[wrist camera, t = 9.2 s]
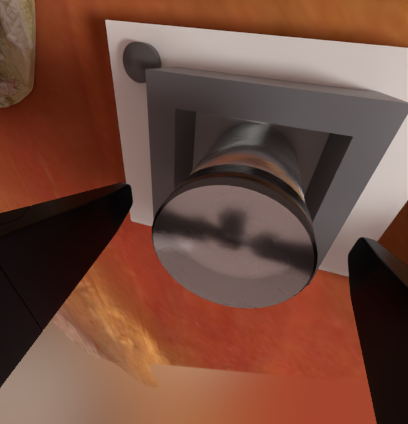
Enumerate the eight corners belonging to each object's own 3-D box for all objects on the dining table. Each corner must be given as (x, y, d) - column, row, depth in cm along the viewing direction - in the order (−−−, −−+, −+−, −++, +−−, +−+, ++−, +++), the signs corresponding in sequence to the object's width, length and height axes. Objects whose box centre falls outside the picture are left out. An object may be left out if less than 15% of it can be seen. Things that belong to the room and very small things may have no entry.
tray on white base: (445, 57, 11) (613, 57, 5) (338, 238, 18) (364, 319, 12) (145, 28, 14) (54, 8, 8) (153, 195, 21) (107, 246, 15)
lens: (315, 130, 11) (354, 209, 5) (283, 217, 14) (285, 325, 8) (210, 113, 12) (145, 165, 6) (201, 198, 15) (153, 285, 9)
